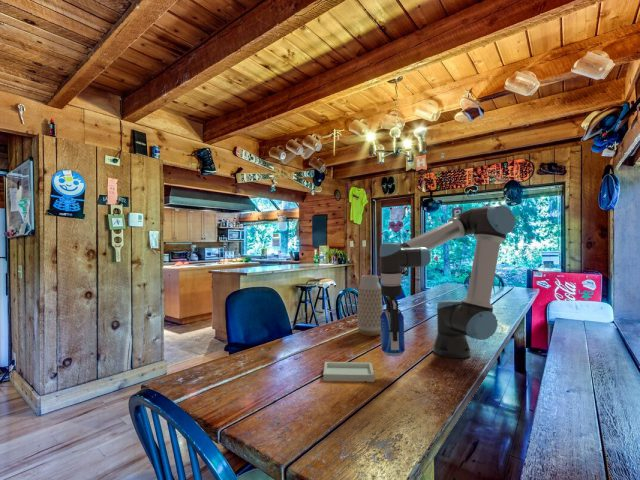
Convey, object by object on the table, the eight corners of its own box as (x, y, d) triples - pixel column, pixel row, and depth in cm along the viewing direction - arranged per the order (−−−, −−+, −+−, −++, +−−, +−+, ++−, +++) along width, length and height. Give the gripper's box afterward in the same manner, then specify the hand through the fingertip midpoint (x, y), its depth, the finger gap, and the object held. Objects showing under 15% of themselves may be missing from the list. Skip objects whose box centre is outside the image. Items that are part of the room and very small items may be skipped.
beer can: (405, 357, 119) (404, 312, 119) (381, 356, 121) (380, 312, 121) (404, 349, 127) (402, 307, 127) (381, 349, 129) (380, 307, 129)
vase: (387, 332, 180) (386, 275, 180) (377, 338, 169) (376, 277, 169) (363, 328, 188) (363, 274, 188) (352, 334, 176) (352, 276, 176)
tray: (371, 368, 129) (371, 362, 129) (374, 381, 117) (374, 375, 117) (324, 367, 130) (324, 361, 130) (323, 380, 118) (323, 374, 118)
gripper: (377, 281, 135) (379, 337, 135) (384, 289, 114) (386, 355, 114) (396, 280, 134) (398, 336, 135) (407, 288, 113) (409, 355, 114)
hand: (392, 345), depth 124 cm, fingers closed on beer can, 8 cm apart
